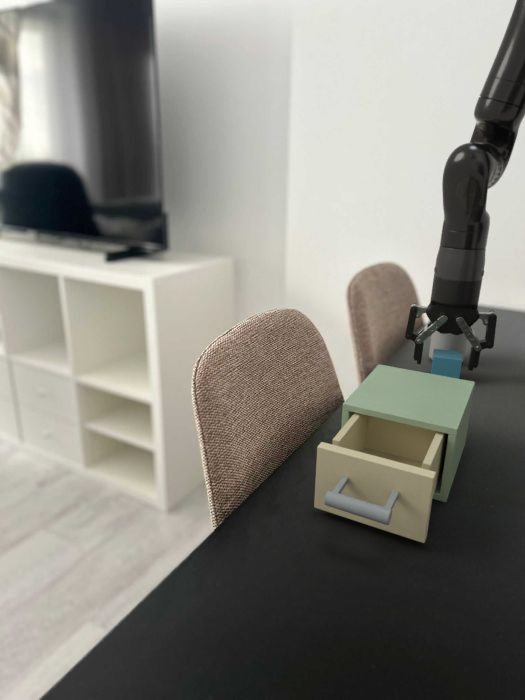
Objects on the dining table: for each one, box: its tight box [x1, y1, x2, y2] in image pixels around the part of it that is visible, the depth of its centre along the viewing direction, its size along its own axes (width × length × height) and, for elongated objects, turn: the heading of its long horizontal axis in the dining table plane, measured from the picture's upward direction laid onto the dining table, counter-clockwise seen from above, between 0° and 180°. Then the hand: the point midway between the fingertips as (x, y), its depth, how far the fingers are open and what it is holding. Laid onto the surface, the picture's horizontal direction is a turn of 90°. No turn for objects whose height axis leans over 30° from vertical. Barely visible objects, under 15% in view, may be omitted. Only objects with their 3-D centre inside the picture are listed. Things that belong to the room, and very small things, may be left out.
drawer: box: [313, 413, 448, 544], centre depth 54 cm, size 18×11×7 cm, turn 152°
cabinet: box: [340, 364, 476, 503], centre depth 64 cm, size 15×13×9 cm
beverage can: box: [428, 331, 468, 363], centre depth 97 cm, size 6×6×12 cm
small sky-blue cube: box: [430, 349, 463, 379], centre depth 89 cm, size 5×5×5 cm
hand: (444, 365), depth 90 cm, fingers open, 8 cm apart
